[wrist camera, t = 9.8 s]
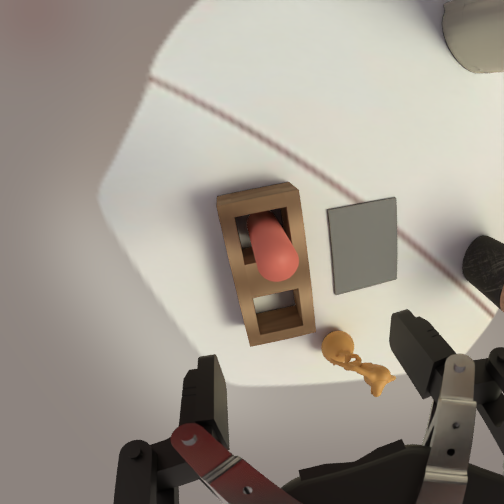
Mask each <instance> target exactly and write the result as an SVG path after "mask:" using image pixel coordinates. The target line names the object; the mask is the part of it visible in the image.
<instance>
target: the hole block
mask: <svg viewBox="0 0 504 504" xmlns="http://www.w3.org/2000/svg"><path fill="white" fill-rule="evenodd" d="M216 207H217V211H218V215H219V220H220V224H221V228H222V233H223V237H224V241H225V246H226V250H227V254H228V258H229V262H230V267H231V271H232V275H233V279H234V283H235V287H236V291H237V295H238V300H239V304H240V308H241V312H242V316H243V320H244V324H245V328H246V332H247V336H248V340H249V343H250V347H251V346H256V345H261V344H266V343H270V342H275V341H280V340H284V339H289V338H293V337H297V336H302V335H306V334H310V333H314V332H316V327H315V317H314V307H313V297H312V288H311V279H310V270H309V262H308V254H307V246H306V238H305V230H304V223H303V216H302V209H301V202H300V195H299V190H298V189H297V188H296V187H295V186H293V185H292V184H291V183H290V182H286V183H281V184H276V185H270V186H265V187H260V188H255V189H250V190H245V191H240V192H235V193H231V194H226V195H221V196H217V206H216ZM277 208H280V209H281V215H282V221H283V227H284V232H285V233H286V235H287V237H288V238H289V240H290V242H291V243H292V245H293V247H294V248H295V250H296V252H297V254H298V257H299V265H298V268H297V270H296V272H295V273H294V274H293V275H292V276H291V277H290V278H288V279H286V280H284V281H280V282H273V281H269V280H267V279H265V278H264V277H263V276H262V275H261V274H260V273H259V271H258V268H257V264H256V260H255V256H254V252H253V249H252V247H248V248H243V249H242V247H241V243H240V238H239V233H238V229H237V224H236V219H235V217H238V216H243V215H248V214H253V213H258V212H263V211H267V210H272V209H277ZM288 290H293V293H294V300H295V305H294V306H290V307H285V308H281V309H276V310H271V311H267V312H262V313H257V314H256V311H255V307H254V302H253V298H256V297H260V296H265V295H270V294H274V293H279V292H284V291H288Z"/></svg>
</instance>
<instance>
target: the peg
mask: <svg viewBox="0 0 504 504" xmlns="http://www.w3.org/2000/svg"><path fill="white" fill-rule="evenodd" d="M247 229H248V233H249V237H250V241H251V245H252V249H253V252H254V256H255V260H256V264H257V268H258V271H259V273H260V274H261V275H262V276H263V277H264V278H265V279H267V280H269V281H273V282H280V281H284V280H286V279H288V278H290V277H291V276H292V275H293V274H294V273H295V272H296V270H297V268H298V265H299V257H298V254H297V252H296V250H295V248H294V247H293V245H292V243H291V242H290V240H289V238H288V237H287V235H286V233H285V232H284V230H283V228H282V227H281V225H280V223H279V222H278V220H277V218H276V217H275V215H274V214H273V213H272V212H271V211H269V210H267V211H263V212H258V213H253V214H250V215H249V217H248V219H247Z"/></svg>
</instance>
